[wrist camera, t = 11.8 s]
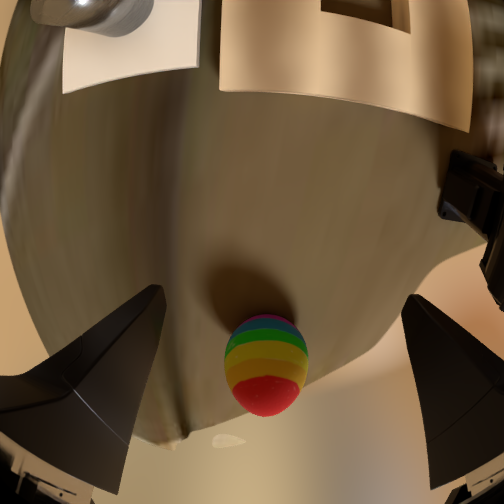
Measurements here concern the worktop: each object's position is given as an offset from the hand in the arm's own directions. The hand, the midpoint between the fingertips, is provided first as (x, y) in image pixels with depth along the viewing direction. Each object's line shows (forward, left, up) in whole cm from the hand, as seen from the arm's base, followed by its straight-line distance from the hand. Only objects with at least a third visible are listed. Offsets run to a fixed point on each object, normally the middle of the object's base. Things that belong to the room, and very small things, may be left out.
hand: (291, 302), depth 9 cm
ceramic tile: (+12, -15, -13) cm, 23 cm away
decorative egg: (0, +16, -13) cm, 21 cm away
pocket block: (-5, -16, -13) cm, 21 cm away
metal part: (+12, -15, -12) cm, 23 cm away
